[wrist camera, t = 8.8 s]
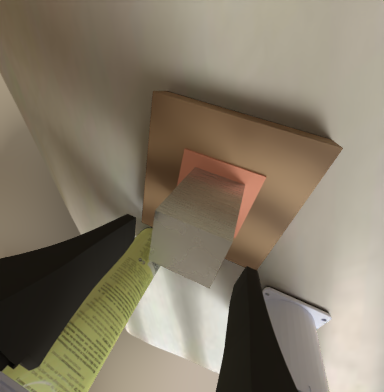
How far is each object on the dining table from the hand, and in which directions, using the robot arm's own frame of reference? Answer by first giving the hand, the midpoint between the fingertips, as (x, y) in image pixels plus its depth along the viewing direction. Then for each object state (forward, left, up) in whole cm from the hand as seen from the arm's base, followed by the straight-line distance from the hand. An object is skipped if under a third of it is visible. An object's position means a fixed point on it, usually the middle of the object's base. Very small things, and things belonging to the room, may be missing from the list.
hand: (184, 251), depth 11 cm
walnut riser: (0, 0, -10) cm, 10 cm away
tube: (-12, +6, -10) cm, 17 cm away
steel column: (0, 0, -7) cm, 7 cm away
